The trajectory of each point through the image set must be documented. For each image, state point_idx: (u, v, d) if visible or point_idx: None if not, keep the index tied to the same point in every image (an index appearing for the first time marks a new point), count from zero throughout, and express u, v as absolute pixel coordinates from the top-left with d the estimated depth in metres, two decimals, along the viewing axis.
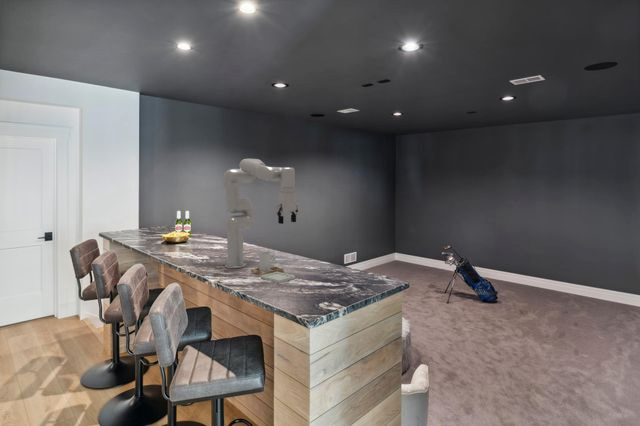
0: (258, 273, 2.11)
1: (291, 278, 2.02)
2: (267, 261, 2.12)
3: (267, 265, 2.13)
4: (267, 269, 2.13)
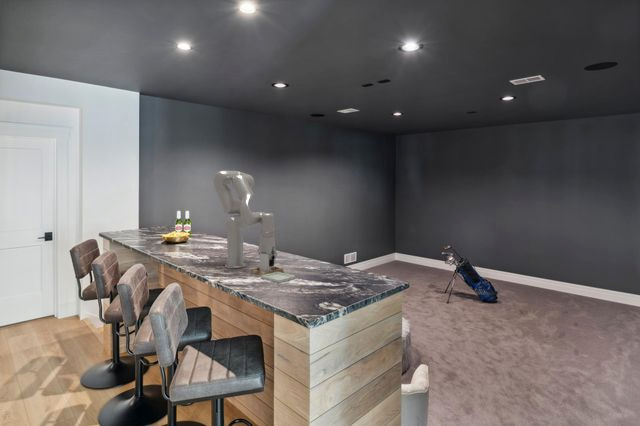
0: (258, 273, 2.11)
1: (291, 278, 2.02)
2: (267, 261, 2.12)
3: (267, 265, 2.12)
4: (267, 269, 2.13)
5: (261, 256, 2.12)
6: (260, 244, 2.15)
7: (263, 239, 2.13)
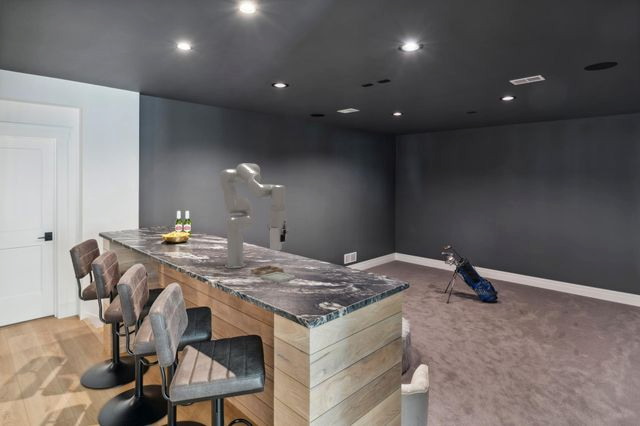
0: (258, 273, 2.11)
1: (291, 278, 2.02)
2: (278, 236, 1.98)
3: (278, 240, 1.98)
4: (278, 245, 1.98)
5: (272, 231, 1.97)
6: (270, 218, 2.01)
7: (274, 213, 1.99)
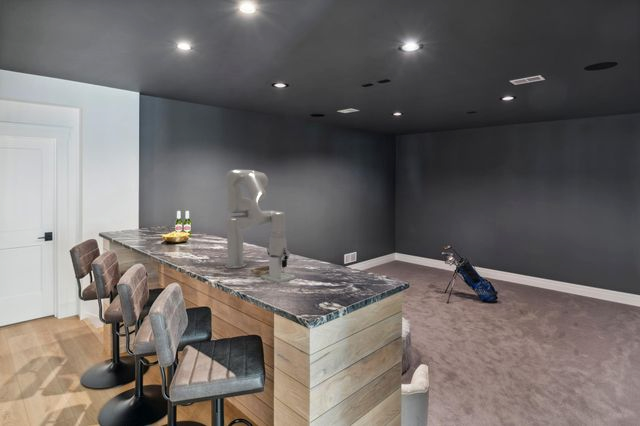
0: (258, 273, 2.11)
1: (291, 278, 2.02)
2: (278, 265, 2.00)
3: (278, 270, 2.00)
4: (278, 274, 2.00)
5: (271, 260, 1.99)
6: (270, 245, 2.02)
7: (274, 239, 2.00)
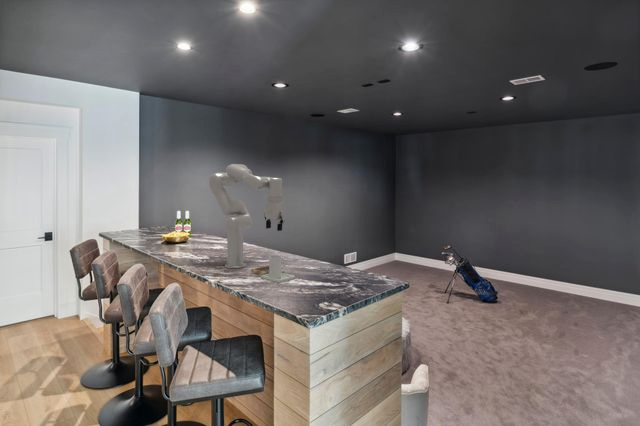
0: (258, 273, 2.11)
1: (291, 278, 2.02)
2: (278, 265, 2.00)
3: (278, 270, 2.00)
4: (278, 274, 2.00)
5: (271, 260, 1.99)
6: (267, 209, 2.11)
7: (270, 204, 2.09)
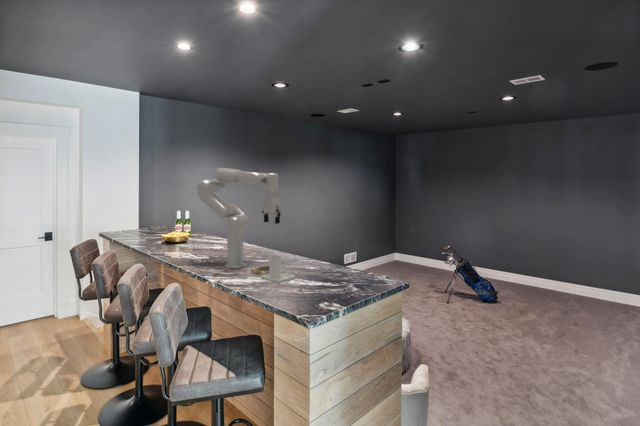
0: (258, 273, 2.11)
1: (291, 278, 2.02)
2: (278, 265, 2.00)
3: (278, 270, 2.00)
4: (278, 274, 2.00)
5: (271, 260, 1.99)
6: (265, 203, 2.21)
7: (268, 198, 2.19)
